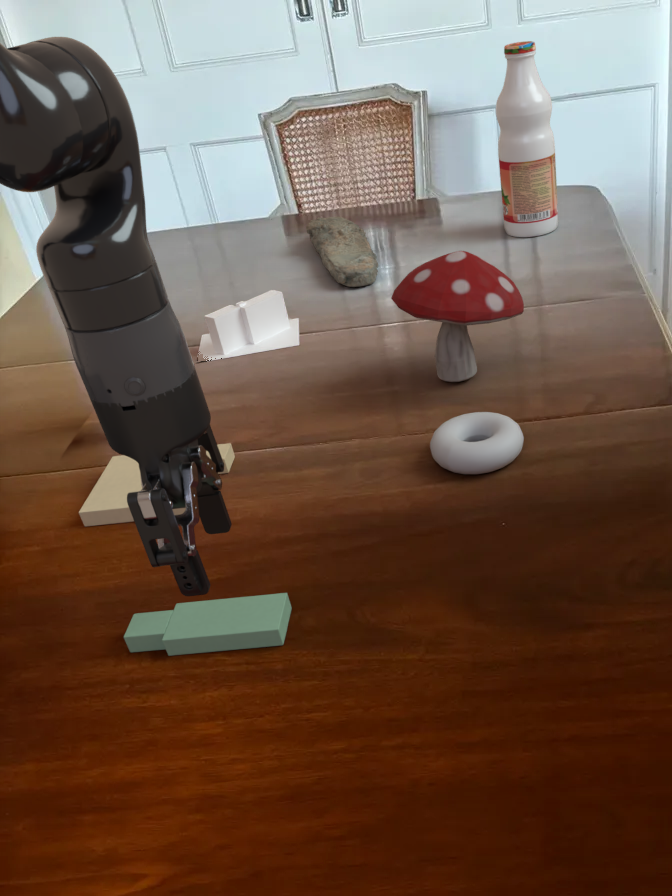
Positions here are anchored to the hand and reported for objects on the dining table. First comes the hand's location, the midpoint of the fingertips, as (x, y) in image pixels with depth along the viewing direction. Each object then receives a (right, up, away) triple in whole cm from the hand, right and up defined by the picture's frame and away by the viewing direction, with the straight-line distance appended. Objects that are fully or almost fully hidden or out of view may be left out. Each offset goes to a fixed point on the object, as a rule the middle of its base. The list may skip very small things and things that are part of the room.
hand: (209, 560), depth 73 cm
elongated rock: (+1, +56, +84) cm, 101 cm away
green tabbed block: (-1, -6, +5) cm, 8 cm away
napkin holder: (-10, +35, +59) cm, 69 cm away
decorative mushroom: (+22, +25, +40) cm, 52 cm away
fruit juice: (+34, +61, +84) cm, 109 cm away
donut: (+23, +12, +23) cm, 35 cm away
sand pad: (-12, +9, +26) cm, 30 cm away
